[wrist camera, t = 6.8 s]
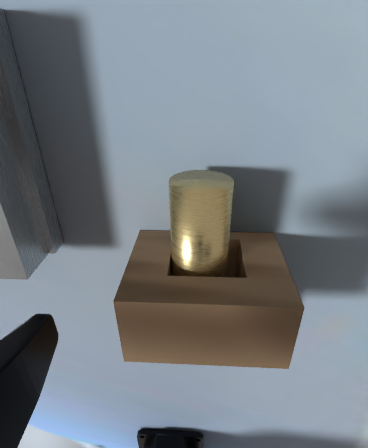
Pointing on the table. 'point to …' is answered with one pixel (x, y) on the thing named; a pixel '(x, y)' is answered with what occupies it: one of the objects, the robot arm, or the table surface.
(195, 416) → the table surface
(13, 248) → the v block
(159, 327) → the brown notched block
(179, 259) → the axle
